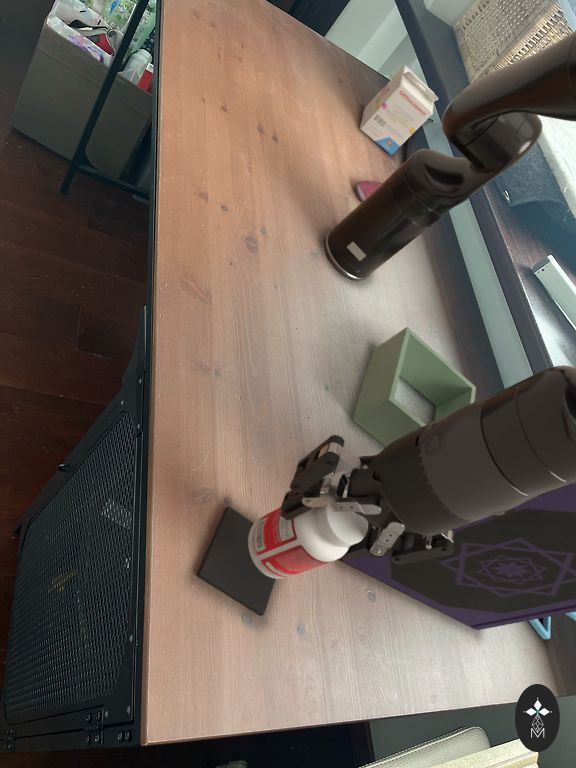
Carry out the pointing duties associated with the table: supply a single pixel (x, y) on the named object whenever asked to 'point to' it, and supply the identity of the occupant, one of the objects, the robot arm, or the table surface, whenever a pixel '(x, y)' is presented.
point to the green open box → (421, 372)
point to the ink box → (398, 110)
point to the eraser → (366, 189)
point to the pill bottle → (303, 540)
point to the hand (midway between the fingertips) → (315, 529)
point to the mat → (236, 564)
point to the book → (496, 566)
